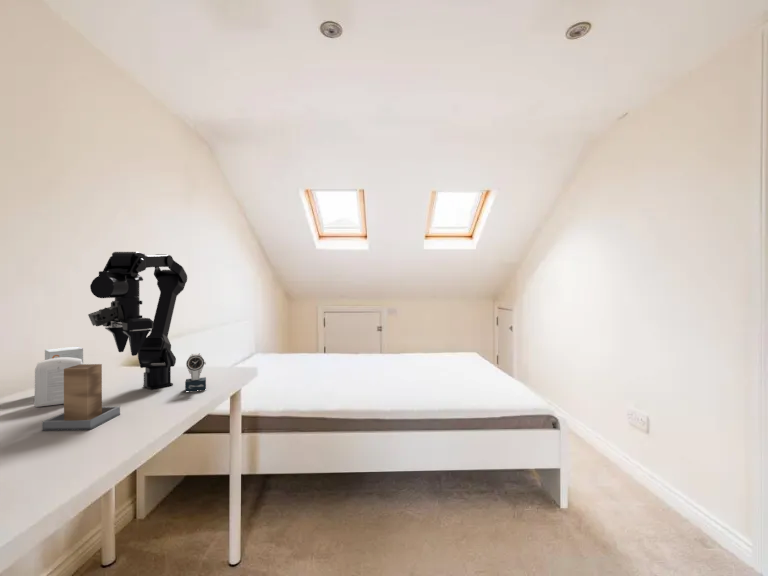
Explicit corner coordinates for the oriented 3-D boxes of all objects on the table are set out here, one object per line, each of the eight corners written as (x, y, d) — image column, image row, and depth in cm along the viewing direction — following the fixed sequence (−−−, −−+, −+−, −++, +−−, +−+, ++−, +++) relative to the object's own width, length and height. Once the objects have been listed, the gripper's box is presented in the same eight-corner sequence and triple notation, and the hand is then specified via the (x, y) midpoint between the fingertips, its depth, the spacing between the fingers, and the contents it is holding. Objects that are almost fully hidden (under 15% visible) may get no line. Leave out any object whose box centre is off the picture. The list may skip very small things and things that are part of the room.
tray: (77, 415, 95) (77, 407, 95) (119, 414, 95) (119, 406, 95) (42, 430, 85) (42, 421, 85) (90, 430, 85) (90, 420, 85)
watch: (184, 394, 113) (184, 356, 113) (186, 387, 121) (186, 352, 120) (205, 392, 115) (205, 355, 115) (206, 385, 123) (206, 351, 123)
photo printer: (84, 398, 109) (84, 354, 109) (83, 402, 106) (82, 357, 106) (36, 404, 104) (35, 358, 104) (32, 408, 100) (32, 361, 100)
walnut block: (80, 416, 92) (80, 364, 92) (101, 416, 93) (101, 364, 93) (64, 424, 87) (63, 368, 87) (87, 423, 88) (86, 368, 88)
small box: (78, 387, 121) (78, 345, 121) (83, 391, 117) (83, 348, 117) (44, 393, 115) (44, 349, 115) (48, 397, 111) (48, 351, 110)
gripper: (80, 297, 106) (80, 354, 106) (105, 298, 95) (105, 362, 95) (126, 296, 115) (126, 349, 115) (154, 297, 104) (154, 355, 104)
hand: (127, 353), depth 107 cm, fingers open, 9 cm apart
